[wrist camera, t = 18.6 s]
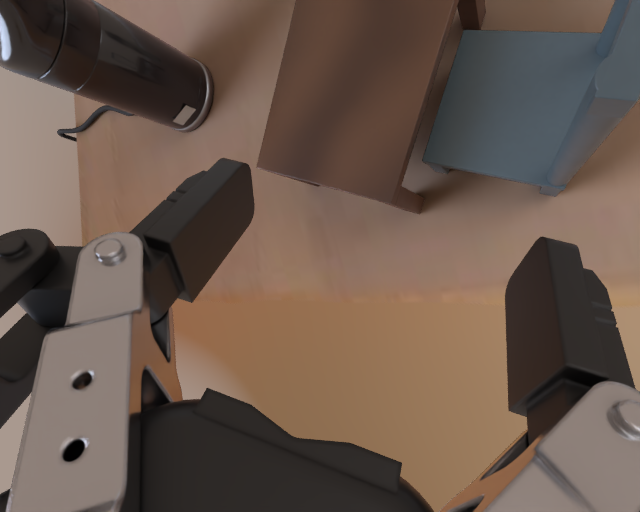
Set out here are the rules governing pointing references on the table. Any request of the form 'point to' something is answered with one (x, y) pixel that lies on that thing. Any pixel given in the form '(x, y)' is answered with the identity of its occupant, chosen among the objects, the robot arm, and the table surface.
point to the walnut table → (358, 92)
